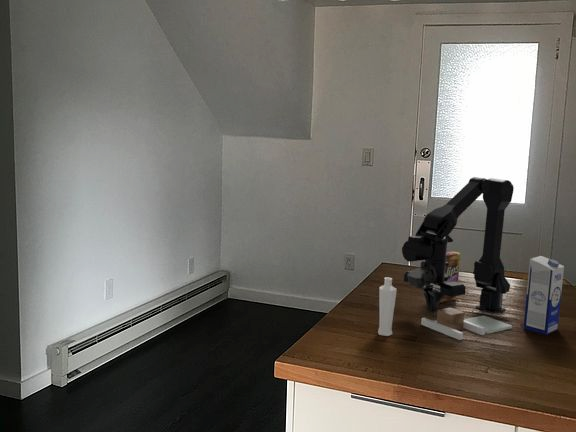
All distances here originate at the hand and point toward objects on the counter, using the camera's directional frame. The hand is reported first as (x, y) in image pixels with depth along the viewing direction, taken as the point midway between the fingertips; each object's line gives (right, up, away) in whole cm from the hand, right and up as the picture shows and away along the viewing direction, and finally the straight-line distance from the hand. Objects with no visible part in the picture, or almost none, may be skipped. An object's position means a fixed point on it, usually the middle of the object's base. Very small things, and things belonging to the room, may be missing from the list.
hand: (431, 312), depth 183 cm
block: (+4, -4, -6) cm, 8 cm away
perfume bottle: (-15, -4, -12) cm, 19 cm away
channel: (+4, -4, -6) cm, 8 cm away
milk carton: (+30, -4, -3) cm, 30 cm away
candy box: (+8, 0, +22) cm, 24 cm away
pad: (+15, -3, -2) cm, 15 cm away
